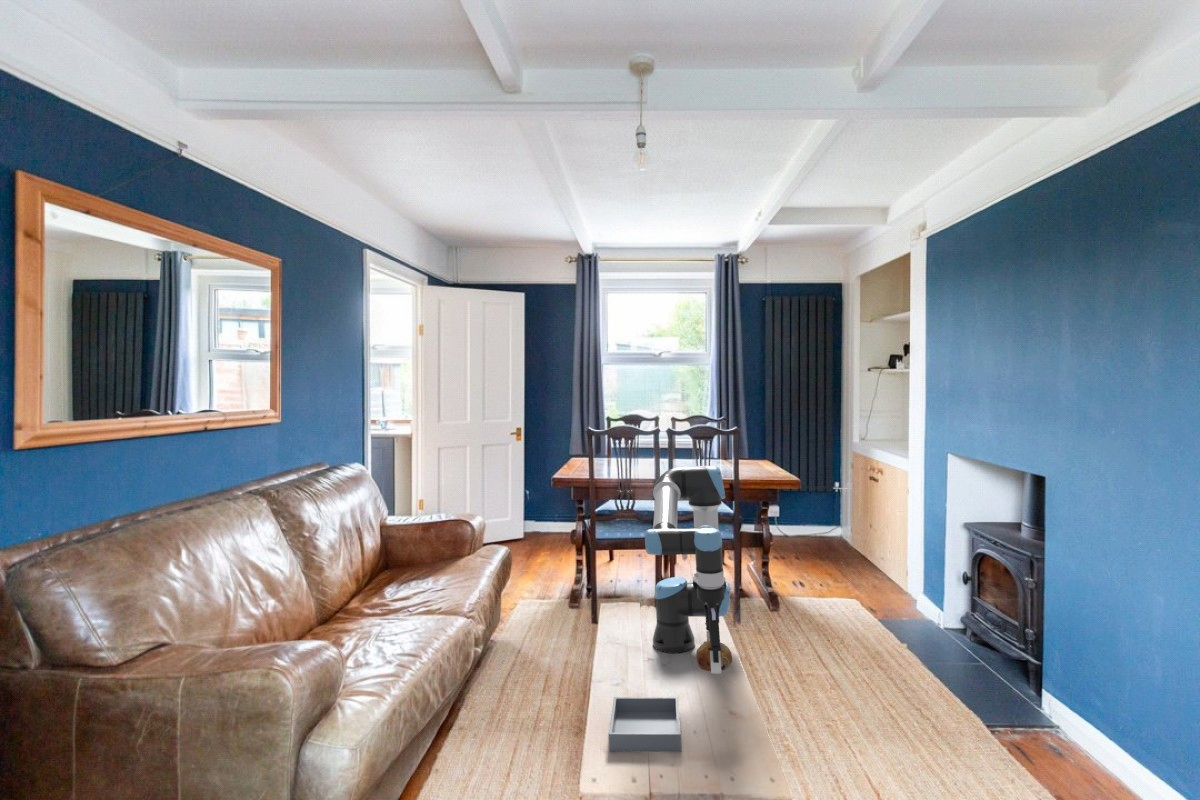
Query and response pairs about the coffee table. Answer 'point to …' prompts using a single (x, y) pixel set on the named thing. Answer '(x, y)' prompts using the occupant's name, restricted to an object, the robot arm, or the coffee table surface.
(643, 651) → the coffee table surface
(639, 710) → the grey tray
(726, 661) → the bread roll
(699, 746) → the coffee table surface
